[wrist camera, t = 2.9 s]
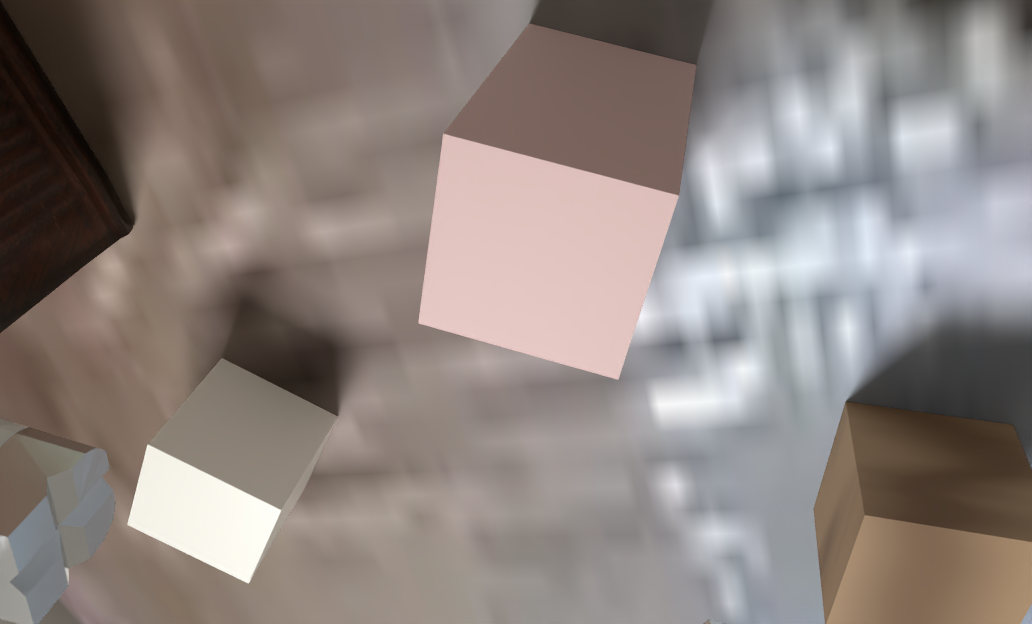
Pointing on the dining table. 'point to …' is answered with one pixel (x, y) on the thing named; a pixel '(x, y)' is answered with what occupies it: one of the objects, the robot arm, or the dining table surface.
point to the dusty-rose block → (558, 198)
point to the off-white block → (229, 469)
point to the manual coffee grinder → (45, 186)
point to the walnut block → (924, 520)
